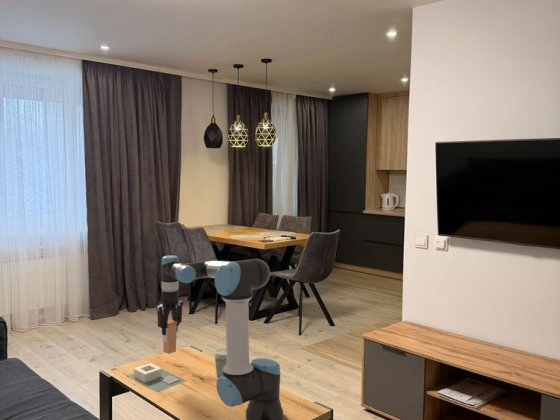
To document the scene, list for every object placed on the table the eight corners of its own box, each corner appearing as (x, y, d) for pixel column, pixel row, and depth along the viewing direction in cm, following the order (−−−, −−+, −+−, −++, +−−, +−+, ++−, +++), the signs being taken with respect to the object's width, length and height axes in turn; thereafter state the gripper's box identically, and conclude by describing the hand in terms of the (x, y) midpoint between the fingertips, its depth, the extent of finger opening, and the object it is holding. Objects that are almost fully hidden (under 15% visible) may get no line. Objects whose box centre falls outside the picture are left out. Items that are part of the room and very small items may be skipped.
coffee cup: (228, 381, 228) (229, 356, 227) (211, 379, 230) (211, 354, 229) (234, 373, 236) (234, 349, 235) (217, 371, 238) (217, 347, 237)
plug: (176, 351, 223) (177, 321, 222) (168, 354, 220) (168, 323, 218) (170, 348, 226) (171, 319, 225) (162, 351, 223) (162, 321, 221)
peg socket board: (186, 383, 224) (186, 372, 224) (157, 395, 212) (157, 383, 212) (155, 368, 240) (155, 357, 239) (126, 378, 228) (126, 367, 227)
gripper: (180, 285, 229) (179, 333, 231) (149, 291, 216) (149, 342, 218) (190, 288, 224) (189, 337, 226) (159, 294, 211) (158, 347, 214)
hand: (169, 340), depth 222 cm, fingers closed on plug, 4 cm apart
